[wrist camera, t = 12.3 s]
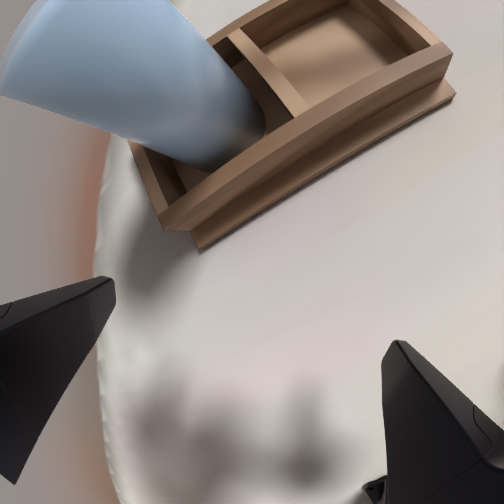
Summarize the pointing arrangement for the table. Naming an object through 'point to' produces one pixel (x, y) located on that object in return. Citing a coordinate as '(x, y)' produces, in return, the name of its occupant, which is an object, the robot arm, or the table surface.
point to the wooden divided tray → (303, 104)
